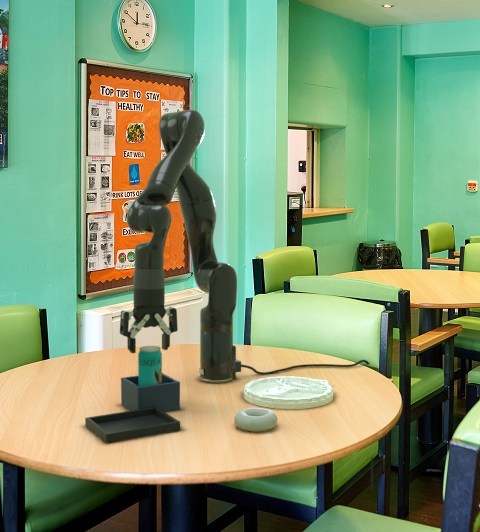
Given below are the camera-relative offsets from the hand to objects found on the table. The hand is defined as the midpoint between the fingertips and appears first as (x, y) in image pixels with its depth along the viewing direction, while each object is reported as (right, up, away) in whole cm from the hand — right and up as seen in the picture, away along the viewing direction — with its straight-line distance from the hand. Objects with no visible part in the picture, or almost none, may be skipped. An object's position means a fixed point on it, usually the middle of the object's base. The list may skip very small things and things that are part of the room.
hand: (149, 351), depth 201 cm
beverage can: (0, -14, +2) cm, 15 cm away
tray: (-2, -16, -15) cm, 22 cm away
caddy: (0, -14, +2) cm, 14 cm away
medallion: (+36, -13, +14) cm, 41 cm away
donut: (+27, -16, -12) cm, 34 cm away
